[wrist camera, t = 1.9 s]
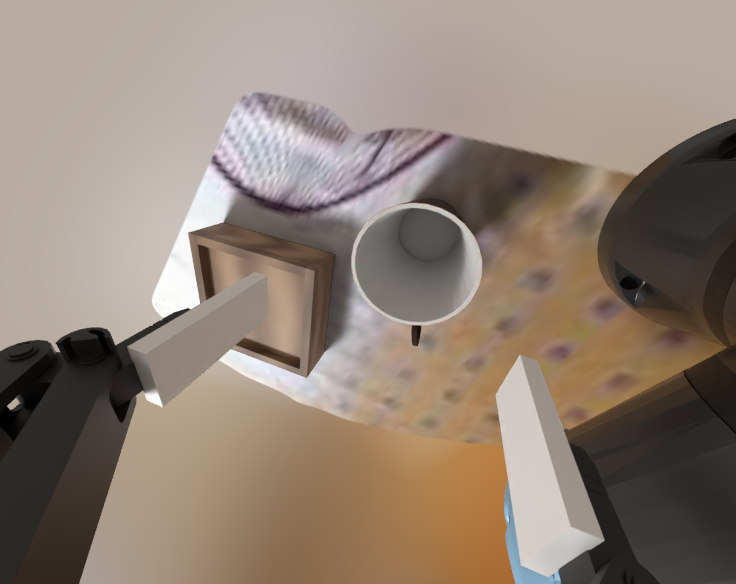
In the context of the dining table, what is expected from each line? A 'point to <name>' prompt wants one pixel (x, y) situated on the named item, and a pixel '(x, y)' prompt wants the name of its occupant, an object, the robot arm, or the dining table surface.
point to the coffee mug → (417, 263)
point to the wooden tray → (270, 291)
